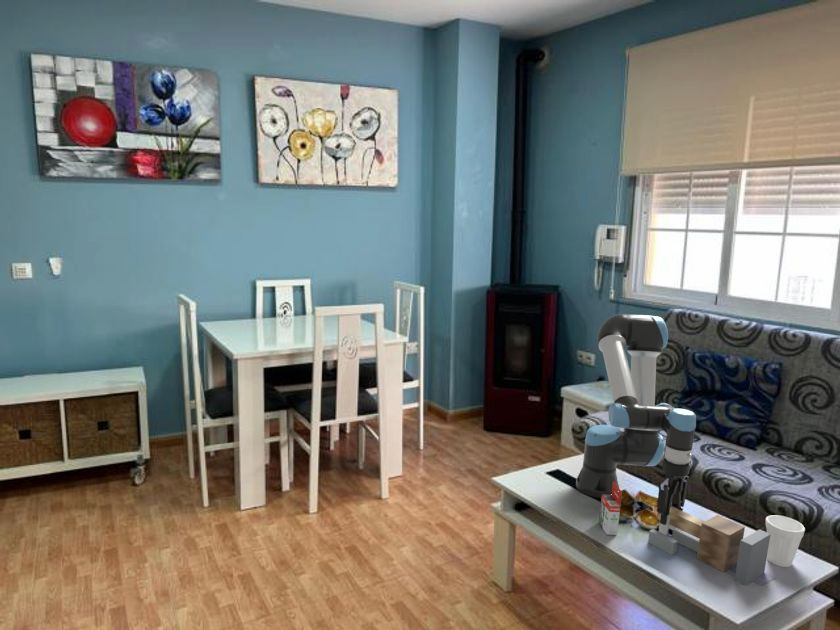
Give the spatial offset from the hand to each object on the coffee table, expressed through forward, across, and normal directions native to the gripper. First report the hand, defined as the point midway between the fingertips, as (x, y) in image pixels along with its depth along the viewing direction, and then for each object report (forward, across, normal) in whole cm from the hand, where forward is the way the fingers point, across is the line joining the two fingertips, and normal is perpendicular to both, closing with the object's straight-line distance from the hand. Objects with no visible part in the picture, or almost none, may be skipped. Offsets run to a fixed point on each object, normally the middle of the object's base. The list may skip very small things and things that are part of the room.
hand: (667, 530), depth 190 cm
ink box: (+3, -11, +14) cm, 18 cm away
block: (+2, 0, -16) cm, 16 cm away
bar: (-3, 0, -4) cm, 5 cm away
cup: (+3, +16, -26) cm, 31 cm away
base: (+3, 0, -14) cm, 14 cm away
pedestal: (+3, -8, -3) cm, 9 cm away
